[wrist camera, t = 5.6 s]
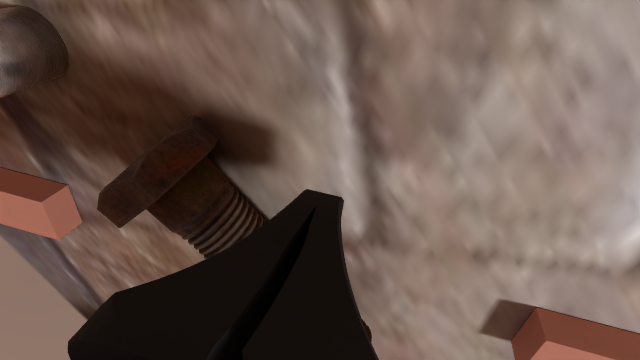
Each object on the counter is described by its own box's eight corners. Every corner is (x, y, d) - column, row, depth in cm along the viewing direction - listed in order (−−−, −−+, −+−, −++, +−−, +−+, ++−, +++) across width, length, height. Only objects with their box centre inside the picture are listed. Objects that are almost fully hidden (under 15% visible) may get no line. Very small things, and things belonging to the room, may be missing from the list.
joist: (612, 369, 18) (628, 406, 16) (510, 340, 19) (518, 373, 17) (649, 336, 16) (671, 374, 15) (536, 307, 17) (546, 340, 15)
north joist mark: (82, 221, 23) (58, 240, 21) (19, 204, 24) (-8, 221, 22) (67, 185, 21) (41, 202, 20) (0, 167, 22) (-30, 183, 20)
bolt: (351, 297, 23) (185, 124, 18) (408, 315, 19) (211, 97, 14) (299, 379, 21) (89, 203, 16) (351, 422, 16) (86, 199, 11)
